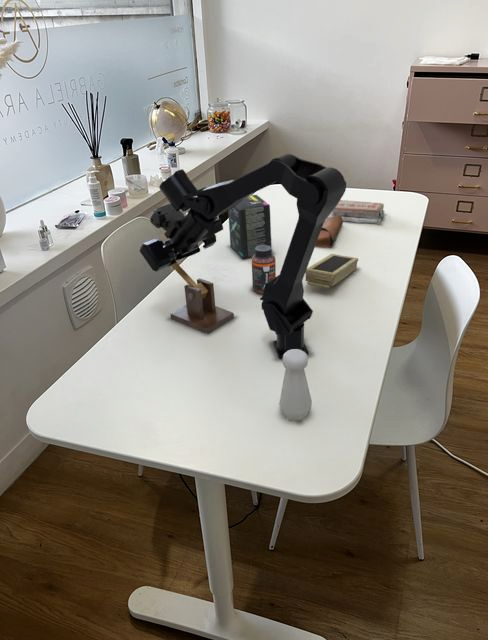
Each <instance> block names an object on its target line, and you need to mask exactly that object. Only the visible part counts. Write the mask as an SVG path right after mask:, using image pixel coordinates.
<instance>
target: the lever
mask: <svg viewBox="0 0 488 640" xmlns="http://www.w3.org/2000/svg"><path fill="white" fill-rule="evenodd" d="M174 259H175V260H176V258H174ZM176 261H177V260H176ZM169 267H172V269H174V271H175V272H176V273H177V274H178V275H179V276H180V277H181V278H182V279H183V280H184V281H185V282H186V283H187V285H190V286H193V287H195V288H198V289H201V294H202V299H203V298H205V297H206V295H207V293H208V290H207V289H206V288H205V287H204V286H203V285H202V284H201V283H198V284H197V282H196V281H194V279H193V278H192V277H191V276H190V275H189V274H188V273H187V271H185V270H184V269H183V267H182V266H180V264H179V263H178V262H177V263H175V264H172V265H170V266H169Z"/></svg>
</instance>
